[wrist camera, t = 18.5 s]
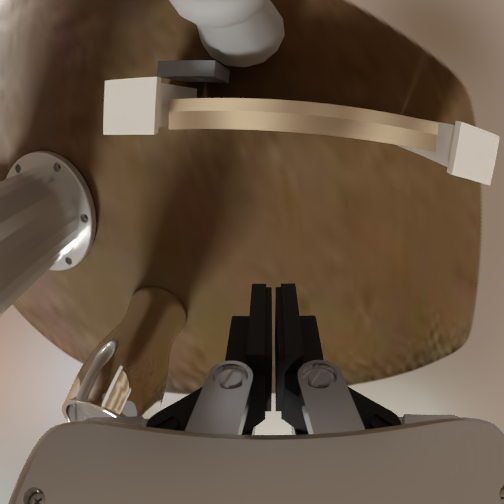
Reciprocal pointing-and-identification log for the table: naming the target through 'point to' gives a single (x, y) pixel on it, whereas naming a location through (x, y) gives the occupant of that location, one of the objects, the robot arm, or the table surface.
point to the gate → (302, 119)
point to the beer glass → (129, 361)
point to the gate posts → (158, 94)
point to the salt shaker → (235, 28)
